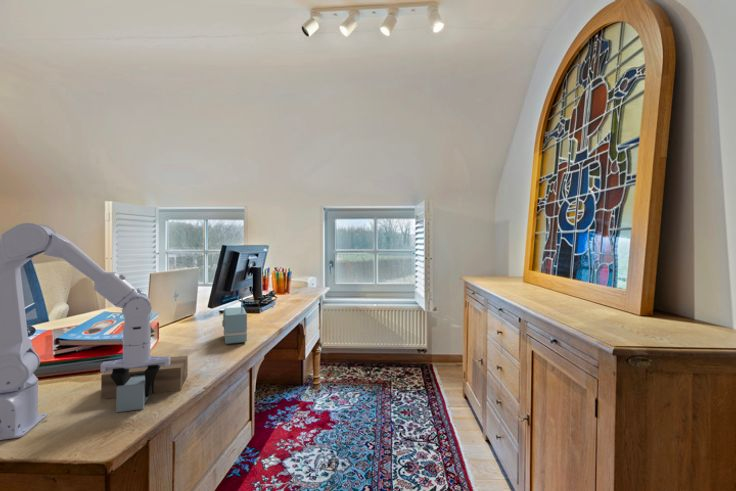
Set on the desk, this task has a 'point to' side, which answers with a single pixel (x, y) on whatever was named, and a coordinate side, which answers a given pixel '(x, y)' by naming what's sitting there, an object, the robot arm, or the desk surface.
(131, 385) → the grey-blue rectangular bar
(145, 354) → the robot arm
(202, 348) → the desk surface
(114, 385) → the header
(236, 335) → the grey banded block
